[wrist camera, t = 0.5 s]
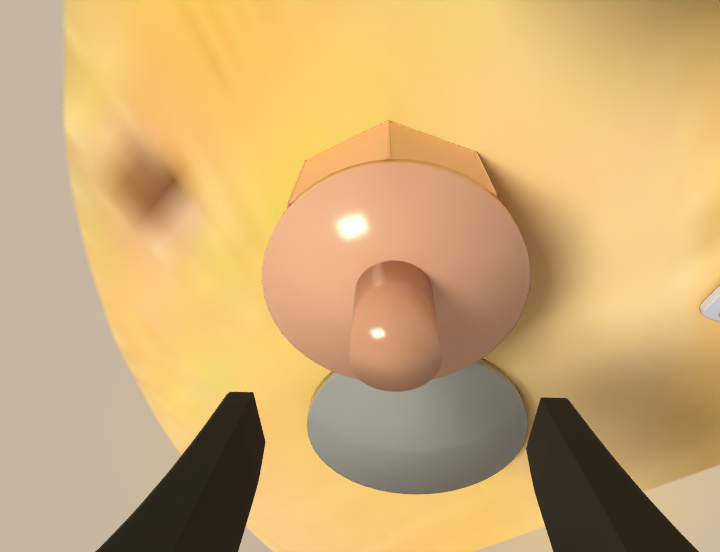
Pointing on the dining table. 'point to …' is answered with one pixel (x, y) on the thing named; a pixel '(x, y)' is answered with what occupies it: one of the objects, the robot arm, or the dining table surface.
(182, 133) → the dining table surface
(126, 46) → the dining table surface
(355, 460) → the slate plate
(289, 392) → the dining table surface
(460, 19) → the dining table surface
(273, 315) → the lid with knob
